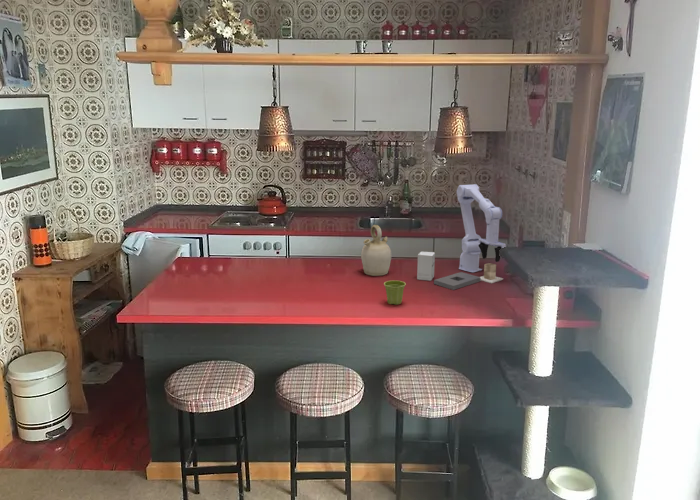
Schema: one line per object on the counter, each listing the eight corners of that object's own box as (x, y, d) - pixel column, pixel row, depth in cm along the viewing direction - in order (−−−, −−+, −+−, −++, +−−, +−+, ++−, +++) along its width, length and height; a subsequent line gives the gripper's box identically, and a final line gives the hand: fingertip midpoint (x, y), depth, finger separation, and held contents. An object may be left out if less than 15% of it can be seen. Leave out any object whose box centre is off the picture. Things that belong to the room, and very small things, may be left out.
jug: (365, 278, 291) (365, 228, 285) (357, 269, 306) (357, 222, 299) (395, 275, 294) (395, 227, 288) (386, 267, 309) (386, 220, 303)
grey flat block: (433, 283, 281) (434, 279, 281) (460, 275, 294) (461, 271, 293) (453, 290, 272) (453, 285, 272) (480, 281, 285) (480, 277, 284)
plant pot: (379, 301, 258) (379, 282, 256) (397, 297, 263) (397, 279, 260) (391, 307, 250) (391, 288, 248) (409, 303, 255) (410, 284, 253)
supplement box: (431, 281, 286) (432, 255, 283) (416, 279, 288) (417, 254, 285) (434, 276, 293) (435, 252, 289) (419, 275, 295) (420, 251, 292)
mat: (476, 279, 288) (476, 277, 288) (487, 275, 294) (488, 274, 294) (491, 283, 282) (491, 282, 282) (503, 279, 287) (503, 278, 287)
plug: (483, 278, 288) (484, 264, 286) (488, 276, 290) (489, 262, 288) (490, 280, 285) (491, 266, 283) (495, 278, 287) (496, 264, 286)
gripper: (475, 231, 285) (473, 258, 288) (500, 236, 274) (498, 264, 277) (484, 229, 289) (482, 255, 293) (509, 234, 278) (507, 261, 282)
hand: (490, 259), depth 285 cm, fingers open, 7 cm apart
